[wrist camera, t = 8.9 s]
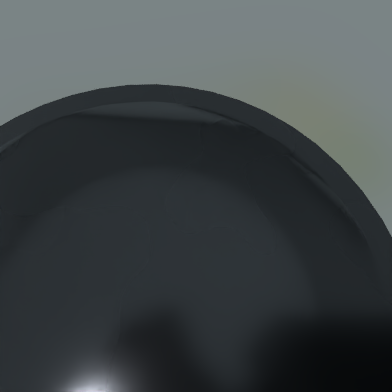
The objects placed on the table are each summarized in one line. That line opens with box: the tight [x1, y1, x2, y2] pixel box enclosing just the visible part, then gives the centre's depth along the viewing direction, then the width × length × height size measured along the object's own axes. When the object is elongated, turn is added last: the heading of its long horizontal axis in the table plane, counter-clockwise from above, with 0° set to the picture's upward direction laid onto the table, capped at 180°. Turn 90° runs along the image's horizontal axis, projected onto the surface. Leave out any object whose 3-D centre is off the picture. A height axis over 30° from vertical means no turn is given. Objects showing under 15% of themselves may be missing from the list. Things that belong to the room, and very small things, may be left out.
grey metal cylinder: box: [0, 84, 392, 392], centre depth 9 cm, size 7×7×13 cm
